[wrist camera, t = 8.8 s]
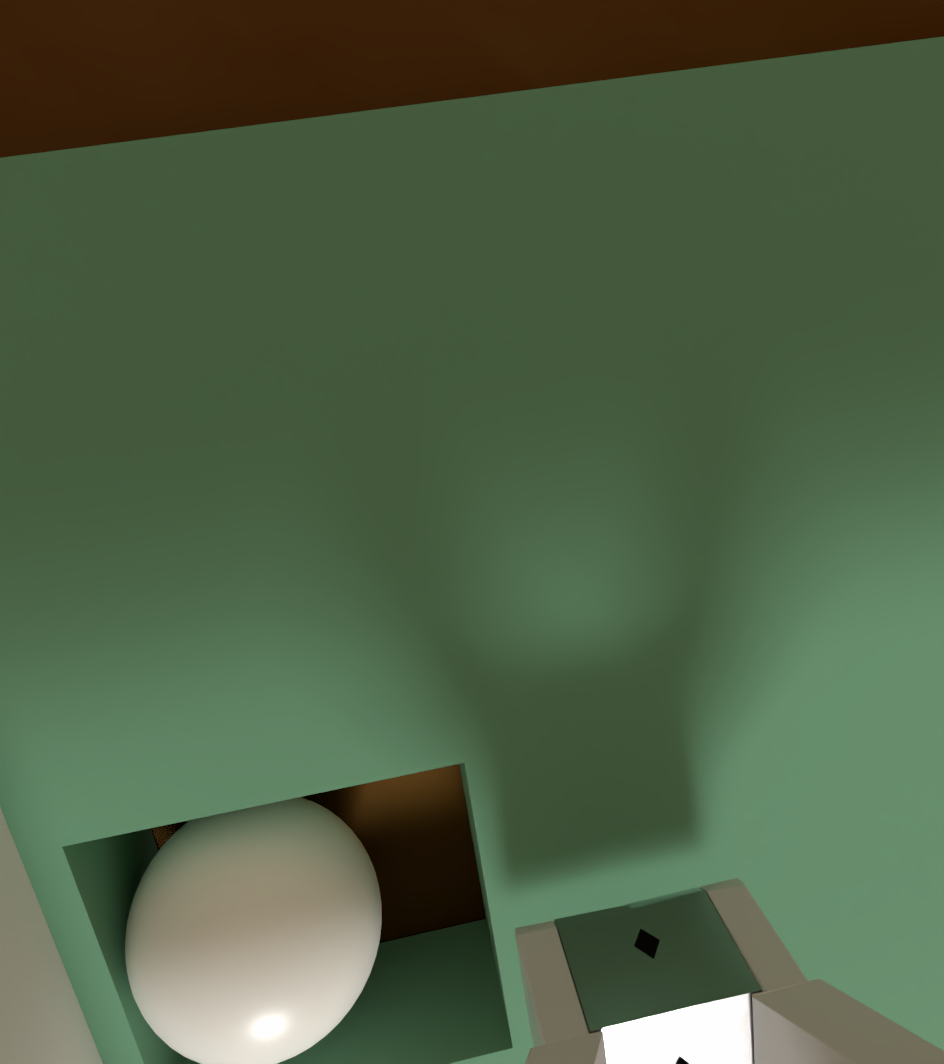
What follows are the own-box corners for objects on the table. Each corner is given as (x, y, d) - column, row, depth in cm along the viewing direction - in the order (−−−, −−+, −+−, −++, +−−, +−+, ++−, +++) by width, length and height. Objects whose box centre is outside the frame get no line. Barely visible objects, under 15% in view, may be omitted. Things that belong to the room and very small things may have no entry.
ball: (372, 872, 9) (60, 961, 9) (418, 1083, 10) (145, 1175, 10) (347, 724, 13) (119, 780, 12) (383, 896, 14) (178, 956, 13)
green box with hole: (1225, 37, 11) (1988, -182, 6) (1077, 1056, 17) (1385, 1382, 12) (-274, 237, 9) (-1070, 174, 4) (169, 1296, 16) (76, 1799, 10)
